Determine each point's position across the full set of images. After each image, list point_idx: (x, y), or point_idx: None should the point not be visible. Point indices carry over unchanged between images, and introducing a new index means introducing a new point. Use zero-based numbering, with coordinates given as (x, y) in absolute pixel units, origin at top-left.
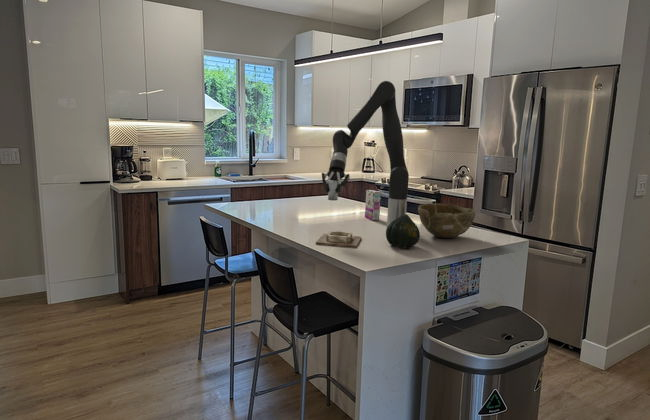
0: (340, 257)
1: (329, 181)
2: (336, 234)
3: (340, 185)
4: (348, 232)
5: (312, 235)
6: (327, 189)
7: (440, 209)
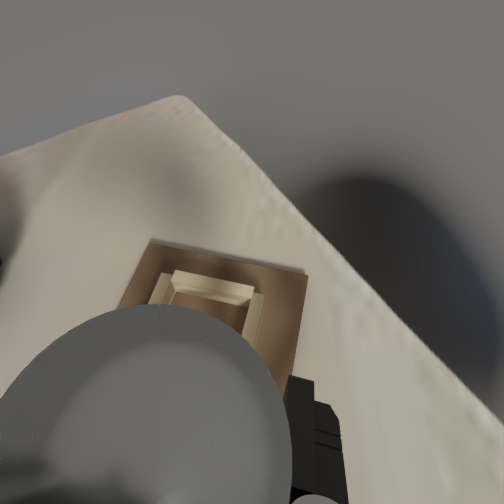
0: (226, 155)
1: (264, 367)
2: None
3: None
4: None
5: None
6: (289, 376)
7: None
